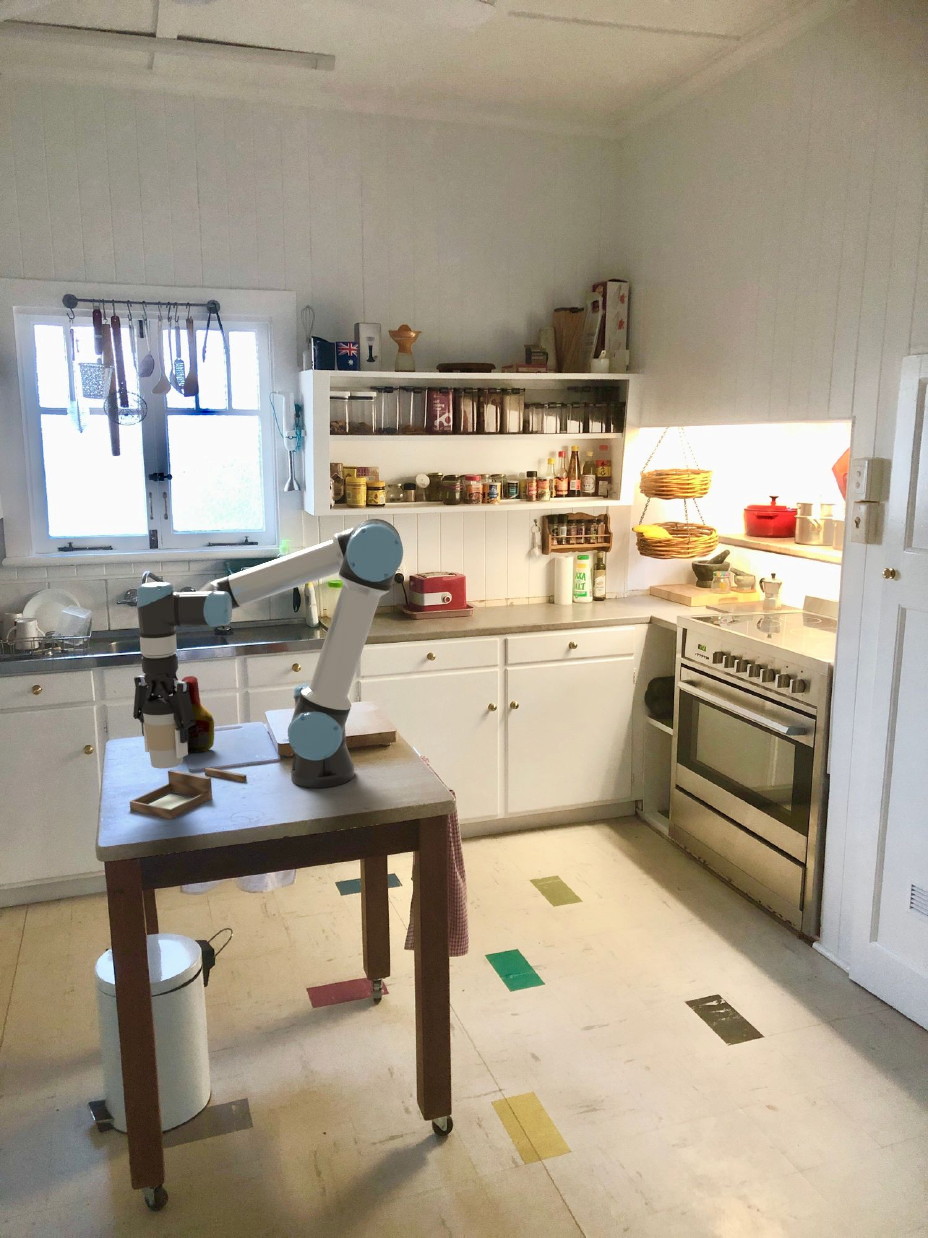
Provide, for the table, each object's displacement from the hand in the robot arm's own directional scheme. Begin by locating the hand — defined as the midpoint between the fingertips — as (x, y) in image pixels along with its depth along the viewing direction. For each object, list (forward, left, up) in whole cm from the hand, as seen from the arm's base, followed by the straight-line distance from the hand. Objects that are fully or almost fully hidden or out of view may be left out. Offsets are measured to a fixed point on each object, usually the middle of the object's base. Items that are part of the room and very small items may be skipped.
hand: (166, 753), depth 210 cm
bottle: (+21, -30, -12) cm, 38 cm away
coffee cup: (0, 0, -3) cm, 3 cm away
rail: (0, -18, -12) cm, 22 cm away
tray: (0, 0, -12) cm, 12 cm away
